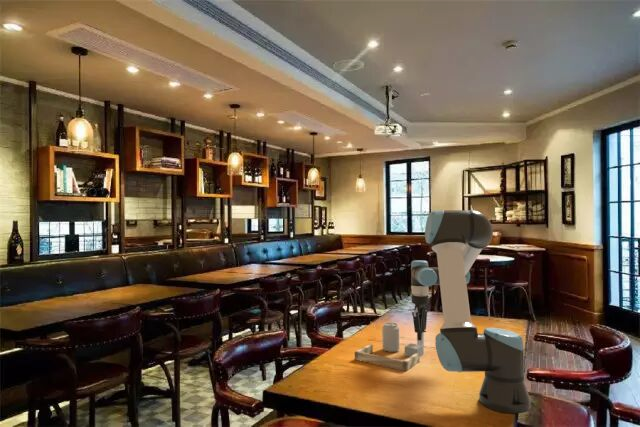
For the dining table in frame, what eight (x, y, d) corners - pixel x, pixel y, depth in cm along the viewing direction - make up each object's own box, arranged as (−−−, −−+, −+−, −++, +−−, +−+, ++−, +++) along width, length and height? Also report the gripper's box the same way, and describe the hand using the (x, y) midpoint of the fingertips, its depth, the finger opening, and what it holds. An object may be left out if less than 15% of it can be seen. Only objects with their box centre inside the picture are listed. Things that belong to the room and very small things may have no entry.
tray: (406, 371, 166) (406, 362, 166) (354, 360, 180) (354, 351, 180) (419, 362, 177) (419, 353, 177) (369, 352, 190) (369, 344, 190)
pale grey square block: (417, 358, 182) (417, 349, 182) (404, 355, 186) (404, 346, 186) (423, 355, 187) (423, 345, 187) (411, 352, 190) (411, 343, 191)
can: (380, 351, 192) (380, 324, 192) (385, 347, 198) (385, 321, 198) (396, 353, 188) (396, 326, 188) (401, 349, 195) (401, 322, 195)
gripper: (417, 291, 201) (418, 342, 200) (406, 296, 190) (406, 349, 190) (433, 293, 196) (433, 344, 196) (422, 297, 186) (422, 352, 185)
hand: (420, 346), depth 193 cm, fingers closed
